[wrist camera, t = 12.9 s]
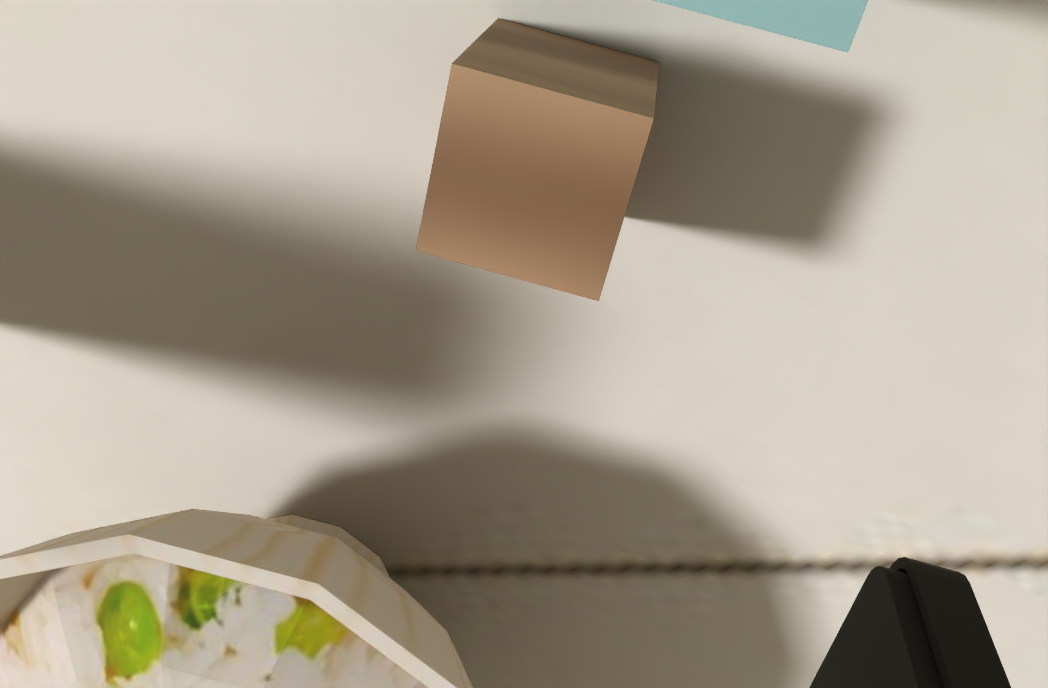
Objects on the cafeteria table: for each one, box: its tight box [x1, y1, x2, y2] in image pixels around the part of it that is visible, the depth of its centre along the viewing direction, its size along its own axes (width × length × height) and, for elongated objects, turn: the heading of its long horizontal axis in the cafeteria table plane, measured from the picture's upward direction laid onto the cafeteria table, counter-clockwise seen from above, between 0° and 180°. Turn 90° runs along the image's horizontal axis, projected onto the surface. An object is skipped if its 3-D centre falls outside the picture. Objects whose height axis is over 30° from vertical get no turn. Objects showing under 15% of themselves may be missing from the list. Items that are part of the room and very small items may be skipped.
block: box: [416, 18, 660, 301], centre depth 25 cm, size 4×4×6 cm
